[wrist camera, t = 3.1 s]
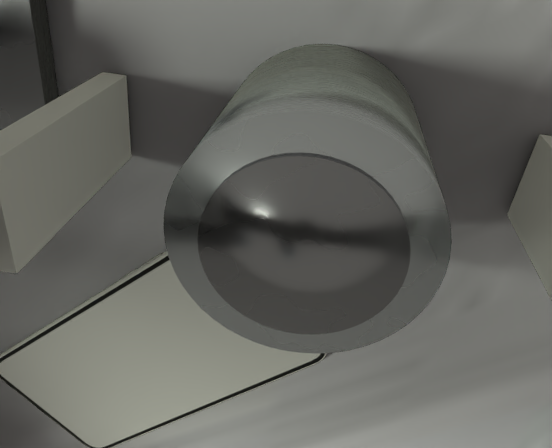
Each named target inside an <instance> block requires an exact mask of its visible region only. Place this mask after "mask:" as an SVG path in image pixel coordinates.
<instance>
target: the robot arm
mask: <svg viewBox="0 0 552 448" xmlns="http://www.w3.org/2000/svg"><path fill="white" fill-rule="evenodd" d="M130 158H131V144H130V127H129V110H128V94H127V77H126V75H120V74H113V73H105V72H102V73H100V74H98V75H97V76H95V77H93V78H91V79H90V80H88V81H86V82H84V83H83V84H81V85H79V86H77V87H76V88H74V89H72V90H70V91H69V92H67V93H65V94H63V95H62V96H60V97H58V98H56V99H55V100H53V101H51V102H49V103H48V104H46V105H44V106H42V107H41V108H39V109H37V110H35V111H34V112H32V113H30V114H28V115H27V116H25V117H23V118H21V119H20V120H18V121H16V122H14V123H13V124H11V125H9V126H7V127H6V128H4V129H1V130H0V271H1V272H7V273H13V274H17V273H18V272H19V271H20V270H21V269H22V268H23V267H24V266H25V265H26V264H27V263H28V262H29V261H30V260H31V259H32V258H33V257H34V256H35V255H36V254H37V253H38V252H39V251H40V250H41V249H42V248H43V247H44V246H45V245H46V244H47V243H48V242H49V241H50V240H51V239H52V238H53V237H54V236H55V235H56V234H57V232H58V231H59V230H60V229H61V228H62V227H63V226H64V225H65V224H66V223H67V222H68V221H69V220H70V219H71V218H72V217H73V216H74V215H75V214H76V213H77V212H78V211H79V210H80V209H81V208H82V207H83V206H84V205H85V204H86V203H87V202H88V201H89V200H90V199H91V198H92V197H93V196H94V195H95V194H96V193H97V192H98V191H99V190H100V189H101V188H102V187H103V185H104V184H105V183H106V182H107V181H108V180H109V179H110V178H111V177H112V176H113V175H114V174H115V173H116V172H117V171H118V170H119V169H120V168H121V167H122V166H123V165H124V164H125V163H126V162H127V161H128V160H129V159H130ZM507 216H508V218H509V220H510V222H511V223H512V225H513V227H514V229H515V231H516V233H517V235H518V237H519V239H520V241H521V243H522V245H523V246H524V248H525V250H526V252H527V254H528V256H529V258H530V260H531V262H532V264H533V266H534V268H535V269H536V271H537V273H538V275H539V277H540V279H541V281H542V283H543V285H544V287H545V289H546V291H547V293H548V294H549V296H550V298H551V300H552V136H548V135H541V134H540V135H539V137H538V140H537V142H536V145H535V147H534V149H533V152H532V154H531V157H530V159H529V162H528V164H527V167H526V169H525V172H524V174H523V177H522V179H521V182H520V184H519V186H518V189H517V191H516V194H515V196H514V199H513V201H512V204H511V206H510V209H509V211H508V214H507Z"/></svg>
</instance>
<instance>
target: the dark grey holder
mask: <svg viewBox="0 0 552 448" xmlns="http://www.w3.org/2000/svg"><path fill="white" fill-rule="evenodd" d="M56 98H58V90H57V83H56V76H55V68H54V61H53V53H52V46H51V39H50V31H49V24H48V16H47V9H46V2H45V0H0V130H1V129H4V128H6V127H7V126H9V125H11V124H13V123H14V122H16V121H18V120H20V119H21V118H23V117H25V116H27V115H28V114H30V113H32V112H34V111H35V110H37V109H39V108H41V107H42V106H44V105H46V104H48V103H49V102H51V101H53V100H55V99H56Z"/></svg>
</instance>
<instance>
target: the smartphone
mask: <svg viewBox="0 0 552 448" xmlns="http://www.w3.org/2000/svg"><path fill="white" fill-rule="evenodd" d="M326 355H327V353H320V354H316V353H298V352H290V351H284V350H280V349H275V348H271V347H268V346H264V345H261V344H258V343H255V342H253V341H251V340H248V339H246V338H244V337H241V336H239V335H238V334H236V333H234V332H232V331H230V330H229V329H227V328H225V327H224V326H222V325H221V324H220V323H218V322H217V321H215V320H214V319H213V318H211V317H210V316H209V315H208V314H207V313H206V312H205V311H203V310H202V309H201V308H200V307H199V306H198V305H197V303H196V302H195V301H194V300H193V299H192V298H191V297H190V295H189V294H188V293H187V291H186V290H185V289H184V287H183V286H182V284H181V283H180V281H179V279H178V277H177V275H176V274H175V272H174V269H173V267H172V264H171V262H170V259H169V256H168V252H167V251H166V252H164V253H163V254H159V255H158V256H156V257H155V258H153V259H151V260H150V261H148V262H147V263H145V264H143V265H142V267H140V268H137V269H135V270H134V271H132V272H130V273H129V274H127V275H126V276H124V277H122V278H121V279H120V280H119V281H118V282H116V283H115V284H113V285H111V286H110V287H108V288H107V289H105V290H103V291H102V292H100V293H98V294H97V295H95V296H94V297H92V298H90V299H89V300H87V301H86V302H84V303H82V304H81V305H79V306H78V307H76V308H74V309H73V310H71V311H70V312H68V313H66V314H65V315H63V316H61V317H60V318H58V319H57V320H55V321H53V322H52V323H50V324H49V325H47V326H45V327H44V328H42V329H41V330H39V331H37V332H36V333H34V334H33V335H31V336H29V337H28V338H26V339H25V340H23V341H21V342H20V343H18V344H16V345H15V346H13V347H12V348H10V349H8V350H7V351H5V352H4V353H2V354H0V378H1V379H2V380H3V381H4V382H5V383H7V384H8V385H9V386H10V387H12V388H13V389H14V390H15V391H17V392H18V393H19V394H21V395H22V396H23V397H24V398H26V399H27V400H28V401H29V402H31V403H32V404H33V405H34V406H36V407H37V408H38V409H39V410H41V411H42V412H43V413H44V414H46V415H47V416H48V417H50V418H51V419H52V420H53V421H55V422H56V423H57V424H58V425H60V426H61V427H62V428H63V429H65V430H66V431H67V432H68V433H70V434H71V435H72V436H73V437H75V438H76V439H77V440H79V441H80V442H81V443H82V444H84V445H85V446H87V447H89V448H112V447H114V446H117V445H119V444H122V443H124V442H127V441H129V440H131V439H134V438H136V437H139V436H141V435H144V434H146V433H149V432H151V431H153V430H156V429H158V428H161V427H163V426H166V425H168V424H170V423H173V422H175V421H178V420H180V419H183V418H185V417H188V416H190V415H192V414H195V413H197V412H200V411H202V410H205V409H207V408H209V407H212V406H214V405H217V404H219V403H222V402H224V401H227V400H229V399H231V398H234V397H236V396H239V395H241V394H244V393H246V392H249V391H251V390H253V389H256V388H258V387H261V386H263V385H266V384H268V383H270V382H273V381H275V380H278V379H280V378H283V377H285V376H287V375H290V374H292V373H295V372H297V371H300V370H302V369H304V368H307V367H309V366H312V365H314V364H316V363H318V362H320V361H322V360H323V359H324V358H325V356H326Z"/></svg>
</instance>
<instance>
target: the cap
mask: <svg viewBox="0 0 552 448" xmlns="http://www.w3.org/2000/svg"><path fill="white" fill-rule="evenodd" d="M164 236H165V244H166V248H167V252H168V256H169V259H170V262H171V264H172V267H173V269H174V272H175V274H176V275H177V277H178V279H179V281H180V283H181V284H182V286H183V287H184V289H185V290H186V291H187V293H188V294H189V295H190V297H191V298H192V299H193V300H194V301H195V302H196V303H197V305H198V306H199V307H200V308H201V309H202V310H203V311H205V312H206V313H207V314H208V315H209V316H210V317H211V318H213V319H214V320H215V321H217V322H218V323H220V324H221V325H222V326H224V327H225V328H227V329H229V330H230V331H232V332H234V333H236V334H238V335H239V336H241V337H244V338H246V339H248V340H251V341H253V342H255V343H258V344H261V345H264V346H268V347H271V348H275V349H280V350H284V351H290V352H298V353H316V354H320V353H335V352H341V351H347V350H352V349H356V348H360V347H364V346H367V345H370V344H372V343H375V342H377V341H380V340H382V339H384V338H386V337H388V336H390V335H392V334H394V333H395V332H397V331H398V330H400V329H401V328H403V327H404V326H406V325H407V324H409V323H410V322H411V321H412V320H413V319H414V318H415V317H416V316H418V315H419V314H420V313H421V312H422V311H423V309H424V308H425V307H426V306H427V305H428V304H429V302H430V301H431V300H432V298H433V297H434V295H435V293H436V292H437V290H438V289H439V287H440V285H441V282H442V280H443V278H444V276H445V273H446V270H447V266H448V262H449V258H450V250H451V228H450V221H449V217H448V212H447V208H446V205H445V202H444V199H443V195H442V192H441V189H440V186H439V183H438V180H437V177H436V174H435V171H434V168H433V164H432V161H431V158H430V155H429V152H428V149H427V146H426V143H425V140H424V136H423V133H422V130H421V127H420V124H419V121H418V118H417V115H416V112H415V109H414V106H413V104H412V101H411V99H410V97H409V95H408V93H407V91H406V90H405V88H404V86H403V85H402V84H401V82H400V81H399V80H398V79H397V77H396V76H395V75H394V74H393V73H392V72H391V71H390V70H389V69H388V68H387V67H386V66H384V65H383V64H381V63H380V62H379V61H377V60H376V59H374V58H372V57H371V56H369V55H367V54H365V53H363V52H360V51H357V50H355V49H352V48H349V47H344V46H339V45H332V44H312V45H304V46H300V47H295V48H292V49H289V50H286V51H283V52H281V53H279V54H277V55H275V56H273V57H271V58H269V59H268V60H267V61H265V62H264V63H262V64H261V65H260V66H258V67H257V68H256V69H255V70H254V71H253V72H252V73H251V74H250V75H249V76H248V77H247V79H246V80H245V81H244V82H243V84H242V85H241V86H240V88H239V89H238V90H237V92H236V93H235V95H234V96H233V97H232V99H231V100H230V101H229V103H228V104H227V105H226V107H225V108H224V110H223V111H222V112H221V114H220V115H219V116H218V118H217V119H216V121H215V122H214V123H213V125H212V126H211V127H210V129H209V130H208V132H207V133H206V134H205V136H204V137H203V138H202V140H201V141H200V143H199V144H198V145H197V147H196V148H195V149H194V151H193V152H192V154H191V155H190V156H189V158H188V159H187V160H186V162H185V163H184V165H183V166H182V167H181V169H180V171H179V173H178V174H177V176H176V178H175V180H174V181H173V184H172V186H171V189H170V192H169V194H168V197H167V202H166V207H165V212H164Z"/></svg>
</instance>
